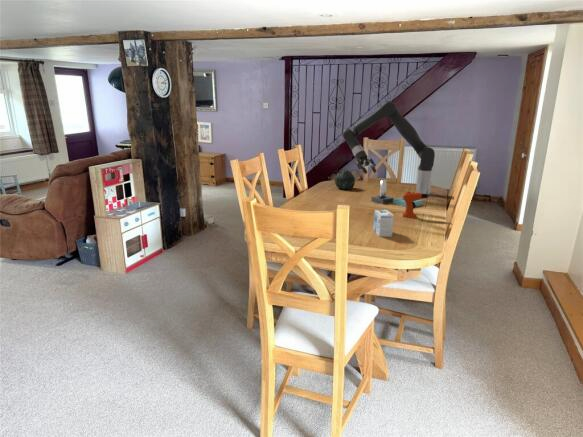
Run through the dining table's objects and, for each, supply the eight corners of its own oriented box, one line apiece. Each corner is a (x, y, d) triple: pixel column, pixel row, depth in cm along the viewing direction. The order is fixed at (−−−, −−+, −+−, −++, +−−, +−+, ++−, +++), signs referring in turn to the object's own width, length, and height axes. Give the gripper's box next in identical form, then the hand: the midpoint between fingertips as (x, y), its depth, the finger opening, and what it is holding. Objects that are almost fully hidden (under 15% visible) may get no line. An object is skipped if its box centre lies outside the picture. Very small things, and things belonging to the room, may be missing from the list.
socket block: (381, 199, 275) (381, 194, 274) (393, 202, 267) (393, 197, 266) (371, 201, 269) (371, 196, 268) (382, 204, 261) (383, 199, 261)
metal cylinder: (381, 200, 271) (383, 179, 267) (386, 201, 268) (388, 180, 264) (377, 201, 268) (379, 180, 265) (382, 202, 265) (383, 181, 262)
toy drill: (437, 217, 226) (437, 190, 222) (402, 219, 231) (401, 193, 228) (437, 215, 230) (436, 189, 227) (402, 216, 236) (401, 191, 232)
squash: (342, 178, 319) (337, 165, 308) (360, 181, 310) (355, 168, 299) (335, 192, 313) (329, 180, 302) (352, 196, 305) (347, 183, 294)
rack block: (405, 201, 270) (406, 196, 270) (422, 204, 260) (422, 200, 260) (392, 203, 263) (393, 199, 262) (409, 207, 253) (409, 203, 252)
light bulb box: (372, 230, 207) (374, 209, 204) (385, 230, 207) (387, 209, 204) (379, 237, 197) (380, 215, 194) (392, 236, 197) (394, 215, 194)
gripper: (354, 150, 271) (366, 170, 265) (370, 149, 279) (381, 168, 274) (348, 157, 277) (360, 177, 271) (363, 156, 285) (375, 175, 279)
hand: (370, 172), depth 272 cm, fingers open, 8 cm apart
